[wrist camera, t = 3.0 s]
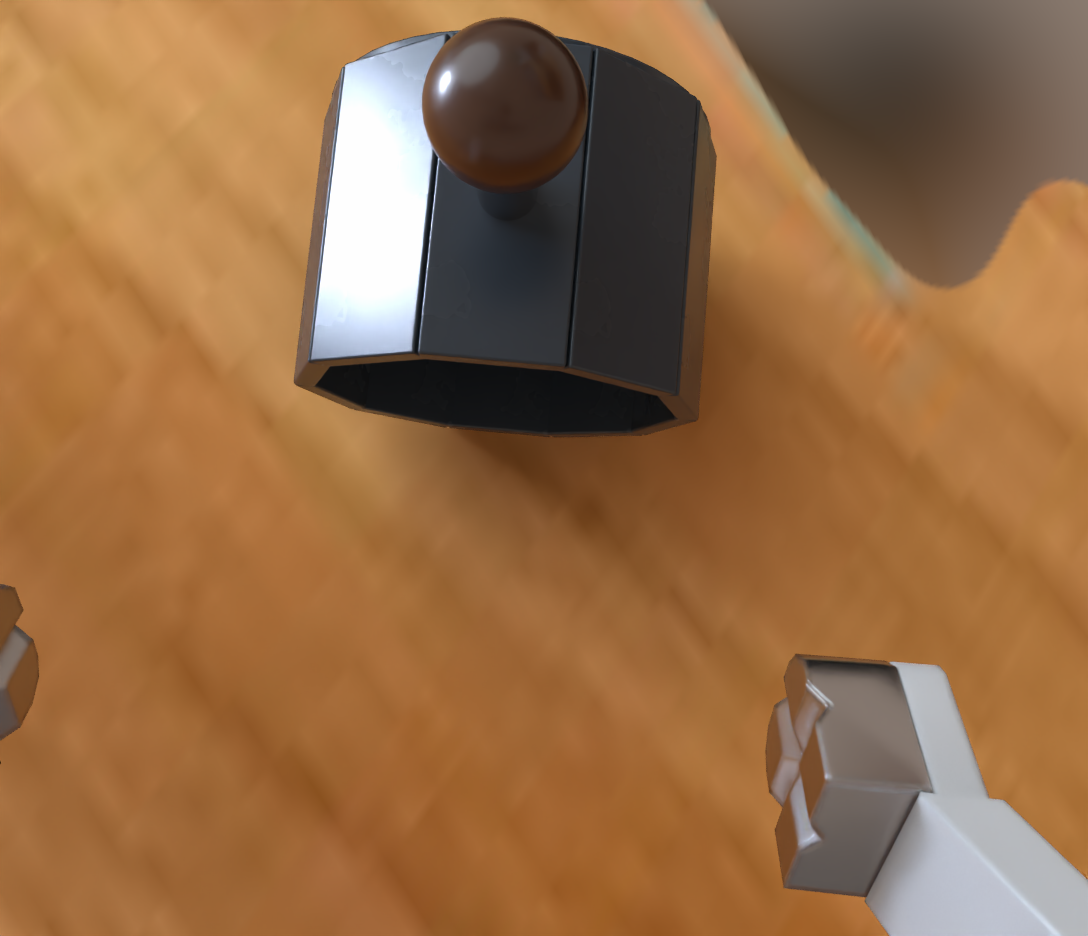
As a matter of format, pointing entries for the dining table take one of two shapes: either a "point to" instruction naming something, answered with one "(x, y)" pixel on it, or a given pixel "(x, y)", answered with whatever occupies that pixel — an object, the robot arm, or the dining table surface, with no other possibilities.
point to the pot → (510, 237)
